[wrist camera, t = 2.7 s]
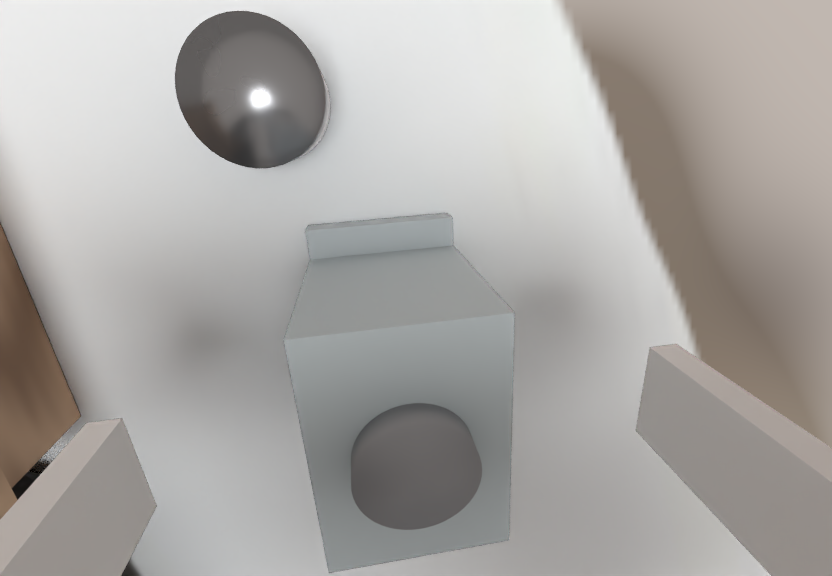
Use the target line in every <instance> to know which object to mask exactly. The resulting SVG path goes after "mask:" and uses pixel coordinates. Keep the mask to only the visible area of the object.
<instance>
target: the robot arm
mask: <svg viewBox="0 0 832 576" xmlns="http://www.w3.org/2000/svg"><path fill="white" fill-rule="evenodd" d="M636 431H637V433H638V434H639V435H640V436H641V437H642V438H643V439H644V440H645V441H646V442H647V443H648V444H649V445H650V446H651V448H652V449H653V450H654V451H655V452H656V453H657V454H658V455H659V456H660V457H661V458H662V459H663V460H664V461H665V462H666V464H667V465H668V466H669V467H670V468H671V469H672V470H673V471H674V472H675V473H676V474H677V475H678V476H679V477H680V479H681V480H682V481H683V482H684V483H685V484H686V485H687V486H688V487H689V488H690V489H691V490H692V491H693V492H694V493H695V495H696V496H697V497H698V498H699V499H700V500H701V501H702V502H703V503H704V504H705V505H706V506H707V507H708V508H709V510H710V511H711V512H712V513H713V514H714V515H715V516H716V517H717V518H718V519H719V520H720V521H721V522H722V523H723V524H724V526H725V527H726V528H727V529H728V530H729V531H730V532H731V533H732V534H733V535H734V536H735V537H736V538H737V539H738V541H739V542H740V543H741V544H742V545H743V546H744V547H745V548H746V549H747V550H748V551H749V552H750V553H751V554H752V555H753V557H754V558H755V559H756V560H757V561H758V562H759V563H760V564H761V565H762V566H763V567H764V568H765V569H766V570H767V572H768V573H769V574H770V575H771V576H832V448H831V447H830V446H828V445H827V444H825V443H823V442H822V441H820V440H819V439H818V438H816V437H815V436H813V435H812V434H810V433H809V432H807V431H806V430H804V429H803V428H801V427H800V426H798V425H797V424H795V423H794V422H792V421H791V420H789V419H788V418H786V417H784V416H783V415H782V414H780V413H779V412H777V411H776V410H774V409H773V408H771V407H770V406H768V405H767V404H765V403H764V402H762V401H761V400H759V399H758V398H756V397H755V396H753V395H752V394H750V393H749V392H747V391H746V390H744V389H743V388H741V387H740V386H738V385H737V384H735V383H734V382H732V381H731V380H729V379H728V378H726V377H725V376H723V375H722V374H720V373H719V372H717V371H716V370H714V369H713V368H711V367H710V366H709V365H707V364H706V363H704V362H703V361H701V360H700V359H698V358H697V357H695V356H694V355H692V354H691V353H689V352H688V351H686V350H685V349H683V348H682V347H680V346H679V345H677V344H671V345H664V346H656V347H650V349H649V355H648V361H647V367H646V372H645V378H644V384H643V390H642V396H641V402H640V408H639V414H638V420H637V426H636ZM156 507H157V505H156V503H155V500H154V498H153V495H152V493H151V490H150V488H149V485H148V483H147V480H146V477H145V475H144V472H143V470H142V467H141V465H140V462H139V460H138V457H137V455H136V452H135V449H134V447H133V444H132V442H131V439H130V437H129V434H128V432H127V429H126V427H125V424H124V421H123V419H122V418H119V419H112V420H104V421H97V422H90V423H86V424H85V425H84V426H83V427H82V428H81V430H80V431H79V432H78V433H77V434H76V435H75V436H74V437H73V439H72V440H71V441H70V442H69V443H68V444H67V445H66V446H65V447H64V449H63V450H62V451H61V452H60V453H59V454H58V455H57V456H56V458H55V459H54V460H53V461H52V462H51V463H50V464H49V465H48V467H47V468H46V469H45V470H44V471H43V472H42V473H41V474H40V476H39V477H38V478H37V479H36V480H35V481H34V482H33V483H32V485H31V486H30V487H29V488H28V489H27V490H26V491H25V492H24V494H23V495H22V496H21V497H20V498H19V499H18V500H17V501H16V503H15V504H14V505H13V506H12V507H11V508H10V509H9V510H8V512H7V513H6V514H5V515H4V516H3V517H2V518H1V519H0V576H121V575H122V573H123V571H124V569H125V567H126V565H127V564H128V562H129V560H130V558H131V556H132V554H133V552H134V550H135V548H136V546H137V544H138V542H139V540H140V538H141V536H142V534H143V532H144V530H145V528H146V526H147V524H148V522H149V520H150V518H151V516H152V515H153V513H154V511H155V509H156Z"/></svg>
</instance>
